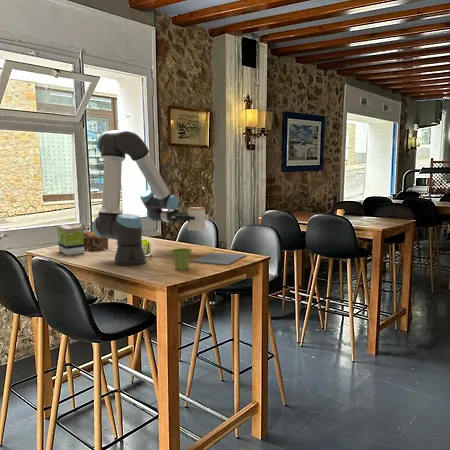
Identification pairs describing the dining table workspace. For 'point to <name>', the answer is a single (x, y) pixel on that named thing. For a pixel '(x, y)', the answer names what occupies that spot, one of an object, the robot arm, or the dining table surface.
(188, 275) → the dining table surface
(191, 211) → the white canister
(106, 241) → the bread
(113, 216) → the robot arm
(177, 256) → the plant pot
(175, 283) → the dining table surface
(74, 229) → the tea box
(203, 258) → the slate mat
